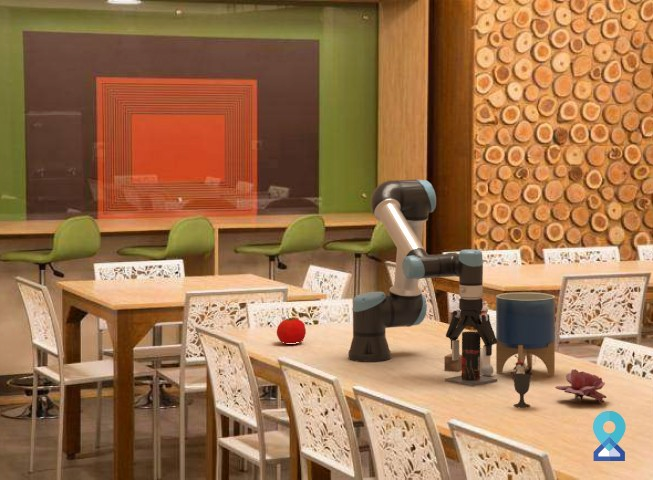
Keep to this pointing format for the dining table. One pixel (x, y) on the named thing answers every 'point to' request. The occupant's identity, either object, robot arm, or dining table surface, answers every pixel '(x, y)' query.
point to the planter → (525, 328)
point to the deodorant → (470, 355)
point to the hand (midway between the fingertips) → (470, 362)
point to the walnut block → (452, 363)
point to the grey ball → (487, 370)
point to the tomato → (291, 331)
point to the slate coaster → (471, 382)
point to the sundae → (521, 381)
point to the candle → (481, 359)
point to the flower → (583, 385)
